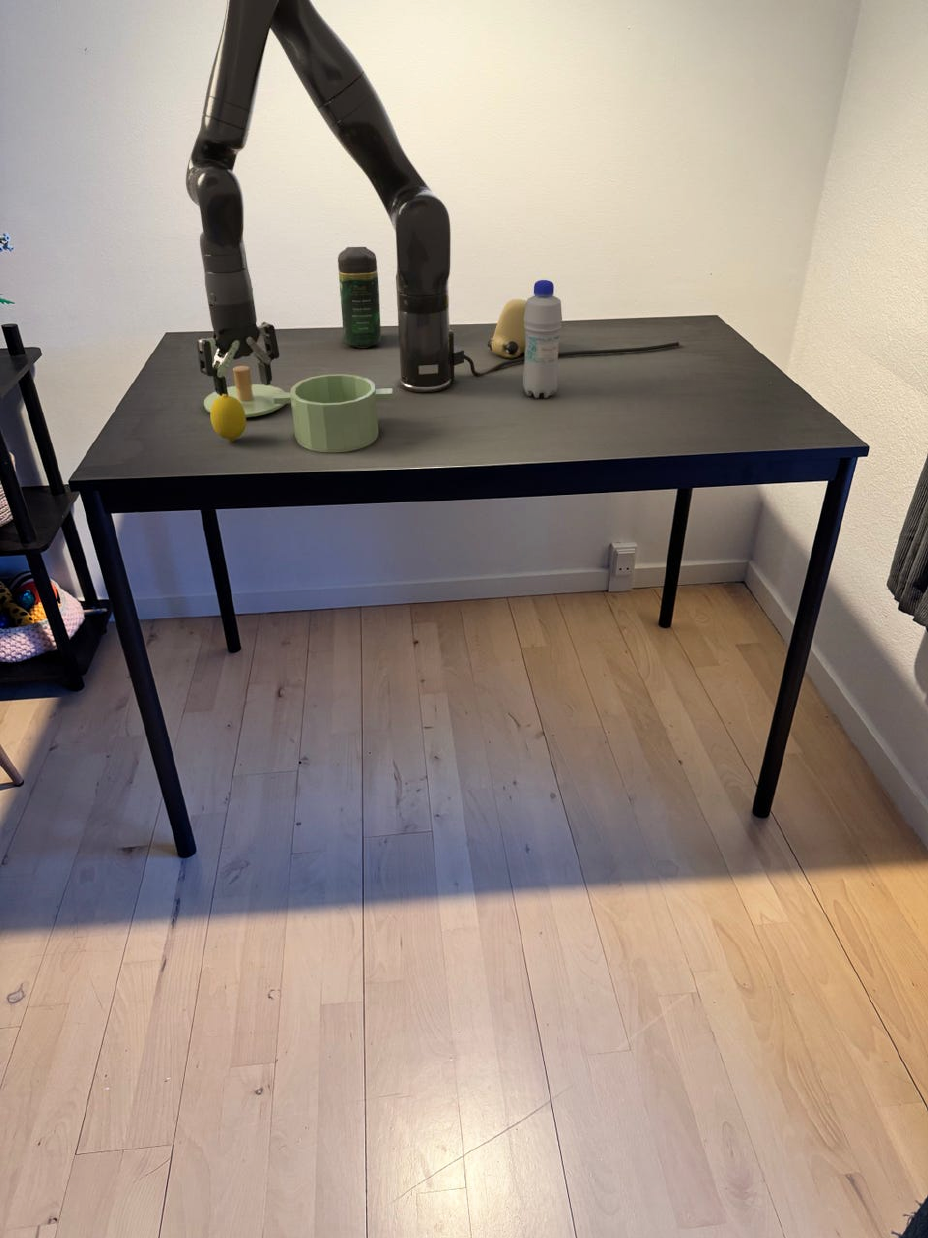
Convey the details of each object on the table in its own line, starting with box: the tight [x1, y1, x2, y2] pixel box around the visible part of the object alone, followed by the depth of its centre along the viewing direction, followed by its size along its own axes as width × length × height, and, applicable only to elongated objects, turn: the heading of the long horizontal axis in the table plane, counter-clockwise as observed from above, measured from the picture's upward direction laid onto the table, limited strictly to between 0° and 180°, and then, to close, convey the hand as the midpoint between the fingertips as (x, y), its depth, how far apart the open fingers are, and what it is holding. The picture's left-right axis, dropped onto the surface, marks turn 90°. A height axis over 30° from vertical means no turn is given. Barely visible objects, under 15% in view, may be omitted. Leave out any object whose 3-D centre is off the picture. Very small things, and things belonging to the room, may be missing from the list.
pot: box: [274, 373, 394, 454], centre depth 145 cm, size 14×19×8 cm
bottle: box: [522, 279, 563, 399], centre depth 156 cm, size 7×7×20 cm
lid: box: [203, 365, 286, 418], centre depth 157 cm, size 15×15×7 cm
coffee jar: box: [337, 246, 382, 349], centre depth 182 cm, size 10×8×19 cm
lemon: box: [209, 394, 247, 442], centre depth 143 cm, size 6×6×8 cm
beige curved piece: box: [487, 298, 527, 359], centre depth 178 cm, size 10×12×11 cm
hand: (245, 390), depth 157 cm, fingers open, 8 cm apart
